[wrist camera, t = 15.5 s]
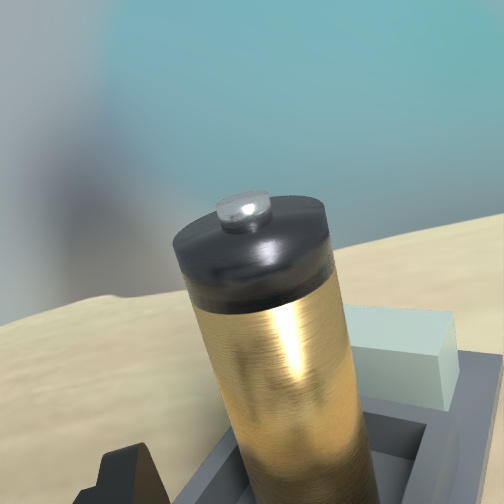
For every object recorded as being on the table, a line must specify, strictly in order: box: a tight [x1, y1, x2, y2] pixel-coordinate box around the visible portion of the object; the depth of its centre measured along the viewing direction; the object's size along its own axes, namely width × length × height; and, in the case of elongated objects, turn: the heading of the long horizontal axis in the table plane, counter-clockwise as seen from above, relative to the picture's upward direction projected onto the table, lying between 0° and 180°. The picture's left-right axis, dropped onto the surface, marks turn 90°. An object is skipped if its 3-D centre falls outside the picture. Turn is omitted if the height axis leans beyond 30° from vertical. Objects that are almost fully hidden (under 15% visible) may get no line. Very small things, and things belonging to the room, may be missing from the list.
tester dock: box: [172, 305, 504, 504], centre depth 23 cm, size 18×12×5 cm, turn 148°
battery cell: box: [173, 191, 381, 504], centre depth 18 cm, size 5×5×15 cm
